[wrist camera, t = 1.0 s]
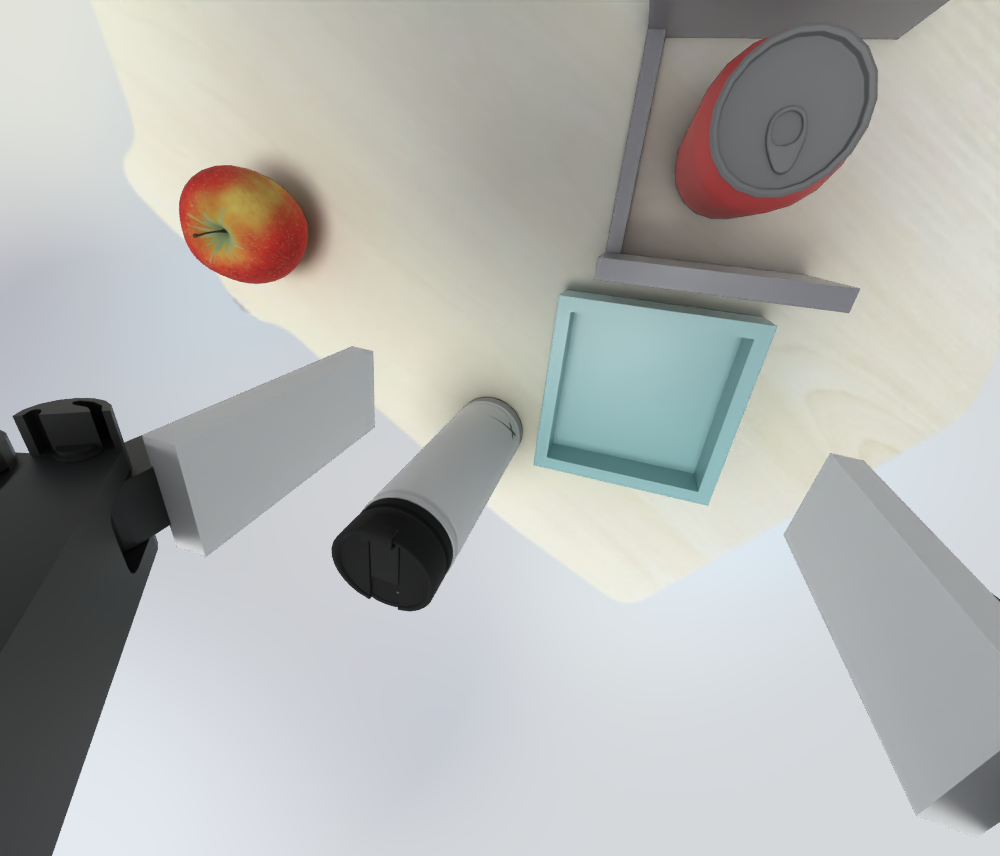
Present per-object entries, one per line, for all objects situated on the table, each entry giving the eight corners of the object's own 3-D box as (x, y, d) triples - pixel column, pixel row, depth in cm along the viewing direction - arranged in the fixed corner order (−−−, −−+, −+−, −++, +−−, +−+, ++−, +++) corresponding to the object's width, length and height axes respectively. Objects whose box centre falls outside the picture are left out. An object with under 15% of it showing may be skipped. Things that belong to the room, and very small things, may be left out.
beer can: (672, 226, 29) (692, 223, 18) (675, 111, 26) (700, 31, 16) (783, 210, 27) (876, 196, 16) (797, 84, 24) (919, -28, 14)
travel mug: (528, 402, 37) (434, 550, 20) (517, 464, 40) (425, 641, 23) (463, 385, 39) (319, 512, 21) (456, 447, 42) (326, 602, 24)
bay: (652, 10, 25) (658, -76, 18) (909, 9, 22) (1034, -95, 15) (603, 269, 31) (593, 279, 24) (797, 293, 28) (849, 313, 21)
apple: (276, 150, 35) (155, 123, 26) (346, 229, 36) (252, 228, 27) (237, 225, 38) (120, 223, 30) (300, 294, 40) (206, 312, 31)
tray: (566, 289, 33) (559, 295, 30) (763, 317, 30) (777, 326, 27) (541, 447, 39) (533, 465, 36) (702, 483, 36) (707, 505, 33)
